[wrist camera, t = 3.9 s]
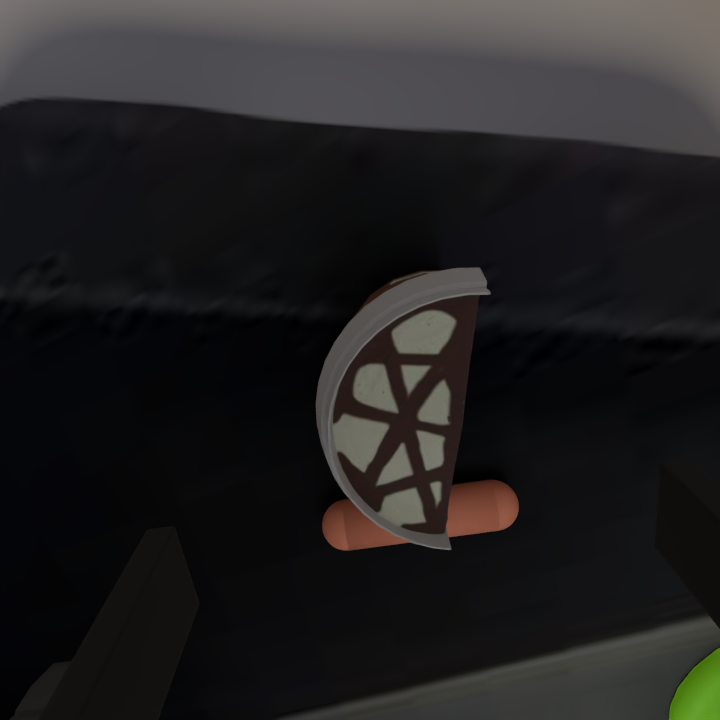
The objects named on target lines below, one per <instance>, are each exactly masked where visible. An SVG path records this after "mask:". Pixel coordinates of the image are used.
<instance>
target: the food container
mask: <svg viewBox="0 0 720 720" xmlns="http://www.w3.org/2000/svg"><path fill="white" fill-rule="evenodd" d="M486 285H487V281H486V279H485V277H484V275H483V273H482V271H481V269H480V268H454V269H448V270H432V271H418V272H415V273H412V274H408V275H405V276H402V277H398V278H395V279H393V280H391V281H390V282H388V283H387V284H385V285H384V286H382V287H381V288H380V289H378V290H377V291H375V292H374V293H372V294H371V295H370V296H369V297H368V299H367V300H366V301H365V302H364V304H363V305H362V306H361V308H360V309H359V310H358V312H357V313H356V314H355V315H354V318H353V319H352V320H351V321H350V322H349V323H348V324H347V326H346V327H345V328H344V330H343V331H342V333H341V334H340V335H339V337H338V338H337V339H336V341H335V342H334V344H333V346H332V348H331V350H330V352H329V354H328V356H327V358H326V360H325V363H324V366H323V369H322V372H321V376H320V379H319V382H318V389H317V397H316V420H317V427H318V432H319V436H320V441H321V445H322V447H323V450H324V453H325V456H326V459H327V461H328V464H329V466H330V469H331V471H332V474H333V476H334V478H335V479H336V481H337V482H338V484H339V486H340V487H341V489H342V490H343V492H344V493H345V494H346V496H347V497H348V498H349V499H350V500H351V501H352V502H353V504H354V505H355V506H356V507H357V508H358V509H359V510H360V511H361V512H362V513H363V514H364V515H365V516H366V517H368V518H369V519H370V520H371V521H372V522H374V523H375V524H376V525H377V526H379V527H381V528H382V529H384V530H386V531H387V532H389V533H391V534H393V535H394V536H397V537H399V538H402V539H404V540H406V541H409V542H411V543H414V544H418V545H422V546H426V547H430V548H437V549H445V550H451V546H450V542H449V537H448V532H447V528H446V524H447V520H448V506H449V498H450V492H451V486H452V480H453V474H454V468H455V462H456V456H457V451H458V446H459V441H460V436H461V431H462V425H463V415H464V406H465V397H466V389H467V381H468V373H469V366H470V358H471V352H472V345H473V338H474V331H475V324H476V317H477V310H478V303H479V296H480V295H488V294H490V291H489V290H488V289H487V288H486Z"/></svg>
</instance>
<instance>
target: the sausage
mask: <svg viewBox="0 0 720 720" xmlns="http://www.w3.org/2000/svg"><path fill="white" fill-rule="evenodd" d="M518 510H519V504H518V499H517V497H516V494H515V493H514V491H513V490H512V489H511V488H510V487H509V486H508V485H507V484H505V483H503V482H501V481H498V480H483V481H476V482H469V483H461V484H454V485H452V486H451V492H450V498H449V506H448V520H447V524H446V528H447V532H448V537H454V536H461V535H469V534H476V533H484V532H491V531H498V530H502V529H505V528H507V527H509V526H510V525H511V524H512V523H513V522H514V521H515V519H516V517H517V514H518ZM322 529H323V533H324V536H325V538H326V539H327V541H328V542H329V543H330V544H331V545H332V546H333V547H335V548H337V549H340V550H356V549H364V548H371V547H379V546H386V545H394V544H401V543H409V541H406V540H404V539H402V538H399V537H397V536H394V535H393V534H391V533H389V532H387V531H386V530H384V529H382V528H381V527H379V526H377V525H376V524H375V523H374V522H372V521H371V520H370V519H369V518H368V517H366V516H365V515H364V514H363V513H362V512H361V511H360V510H359V509H358V508H357V507H356V506H355V505H354V504H353V502H352V501H351V500H350V499H344V500H340V501H337V502H335V503H334V504H332V505H331V506H330V507H329V508H328V509H327V511H326V512H325V514H324V517H323V522H322Z"/></svg>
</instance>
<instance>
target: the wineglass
mask: <svg viewBox="0 0 720 720" xmlns="http://www.w3.org/2000/svg"><path fill="white" fill-rule="evenodd" d="M669 720H720V648H718V649H716V650H715V651H714V652H712V653H711V654H710V655H709V656H707V657H706V658H705V659H704V660H702V661H701V662H700V663H699V664H697V665H696V666H695V667H694V668H693V669H692V670H691V671H690V673H689V674H688V675H687V676H686V678H685V679H684V680H683V681H682V683H681V684H680V685H679V686H678V688H677V691H676V693H675V696H674V698H673V700H672V703H671V705H670V709H669Z"/></svg>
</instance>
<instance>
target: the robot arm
mask: <svg viewBox="0 0 720 720" xmlns="http://www.w3.org/2000/svg"><path fill="white" fill-rule="evenodd" d="M655 548H656V549H657V550H658V552H659V553H660V554H661V555H662V557H663V558H664V559H665V560H666V562H667V563H668V564H669V565H670V567H671V568H672V569H673V571H674V572H675V573H676V574H677V576H678V577H679V578H680V579H681V581H682V582H683V583H684V584H685V586H686V587H687V588H688V589H689V591H690V592H691V593H692V594H693V596H694V597H695V598H696V600H697V601H698V602H699V603H700V605H701V606H702V607H703V608H704V610H705V611H706V612H707V613H708V615H709V616H710V617H711V618H712V620H713V621H714V622H715V623H716V625H717V626H718V627H719V629H720V485H719V484H718V483H717V482H715V481H714V480H713V479H712V478H711V477H710V476H708V475H707V474H706V473H705V472H704V471H703V470H702V469H700V468H699V467H698V466H697V465H696V464H695V463H693V462H692V461H691V460H690V459H686V460H679V461H671V462H663V463H660V472H659V489H658V506H657V523H656V540H655ZM199 604H200V603H199V600H198V597H197V594H196V591H195V588H194V585H193V582H192V579H191V576H190V572H189V569H188V566H187V563H186V560H185V557H184V554H183V551H182V548H181V545H180V542H179V538H178V535H177V532H176V529H175V526H169V527H162V528H154V529H147V531H146V532H145V534H144V536H143V538H142V539H141V541H140V543H139V545H138V546H137V548H136V550H135V551H134V553H133V555H132V557H131V558H130V560H129V562H128V564H127V565H126V567H125V569H124V571H123V572H122V574H121V576H120V578H119V579H118V581H117V583H116V585H115V586H114V588H113V590H112V592H111V593H110V595H109V597H108V599H107V600H106V602H105V604H104V605H103V607H102V609H101V611H100V612H99V614H98V616H97V618H96V619H95V621H94V623H93V625H92V626H91V628H90V630H89V632H88V633H87V635H86V637H85V639H84V640H83V642H82V644H81V646H80V647H79V649H78V651H77V653H76V654H75V656H74V658H73V660H72V661H68V662H60V663H53V664H52V665H51V666H50V667H49V668H48V669H47V670H46V671H45V672H44V673H43V674H42V675H41V676H40V677H39V678H38V679H37V680H36V682H35V683H34V684H33V685H32V686H31V687H30V688H29V690H28V692H27V693H26V695H25V696H24V698H23V700H22V701H21V703H20V704H19V706H18V708H17V709H16V711H15V716H12V717H11V719H10V720H158V719H159V716H160V713H161V710H162V707H163V705H164V702H165V699H166V696H167V693H168V691H169V688H170V685H171V682H172V679H173V677H174V674H175V671H176V668H177V665H178V662H179V660H180V657H181V654H182V651H183V648H184V646H185V643H186V640H187V637H188V634H189V632H190V629H191V626H192V623H193V620H194V618H195V615H196V612H197V609H198V606H199Z"/></svg>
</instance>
